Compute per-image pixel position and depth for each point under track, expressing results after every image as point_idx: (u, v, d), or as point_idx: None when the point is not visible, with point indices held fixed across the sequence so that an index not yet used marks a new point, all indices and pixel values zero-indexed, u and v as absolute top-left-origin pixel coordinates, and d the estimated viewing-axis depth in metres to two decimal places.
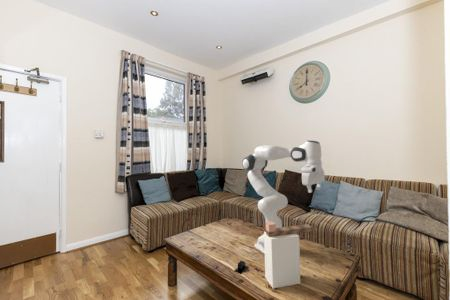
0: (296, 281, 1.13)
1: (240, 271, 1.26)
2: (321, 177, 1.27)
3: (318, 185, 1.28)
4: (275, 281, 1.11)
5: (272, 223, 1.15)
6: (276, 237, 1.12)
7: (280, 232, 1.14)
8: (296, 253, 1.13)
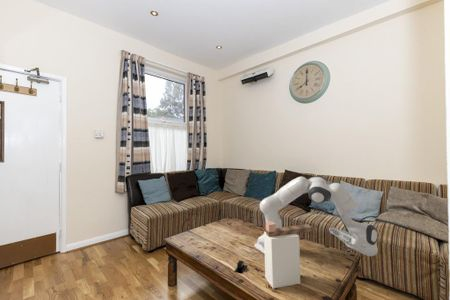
0: (296, 281, 1.13)
1: (240, 271, 1.26)
2: None
3: None
4: (275, 281, 1.11)
5: (272, 223, 1.15)
6: (276, 237, 1.12)
7: (280, 232, 1.14)
8: (296, 253, 1.13)
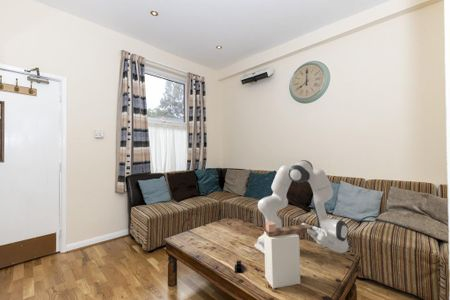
0: (296, 281, 1.13)
1: (241, 271, 1.26)
2: (322, 233, 1.16)
3: None
4: (275, 281, 1.11)
5: (272, 223, 1.15)
6: (276, 237, 1.12)
7: (280, 232, 1.14)
8: (296, 253, 1.13)
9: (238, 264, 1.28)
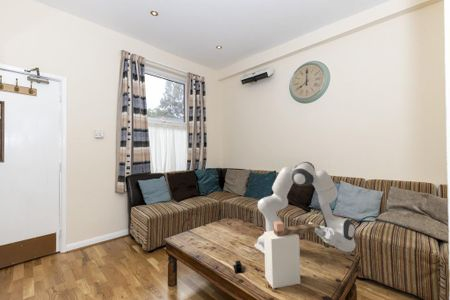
0: (296, 281, 1.13)
1: (241, 270, 1.27)
2: None
3: None
4: (275, 281, 1.11)
5: (280, 222, 1.15)
6: (276, 237, 1.12)
7: (288, 231, 1.15)
8: (296, 253, 1.13)
9: (238, 264, 1.28)
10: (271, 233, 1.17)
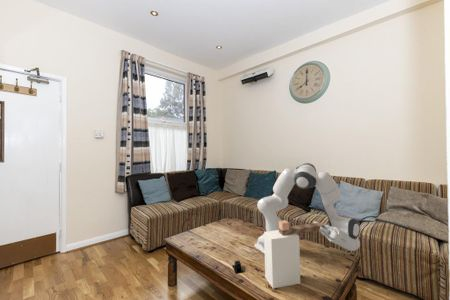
0: (296, 281, 1.13)
1: (241, 270, 1.27)
2: None
3: None
4: (275, 281, 1.11)
5: (285, 222, 1.16)
6: (276, 237, 1.12)
7: (293, 230, 1.15)
8: (296, 253, 1.13)
9: (238, 264, 1.27)
10: (271, 233, 1.17)
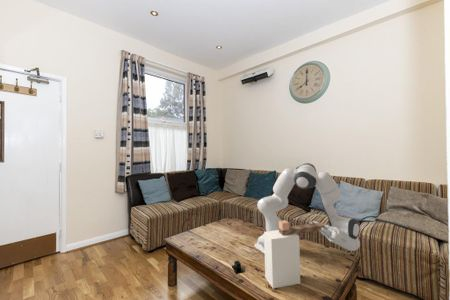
0: (296, 281, 1.13)
1: (241, 270, 1.27)
2: None
3: None
4: (275, 281, 1.11)
5: (285, 222, 1.16)
6: (276, 237, 1.12)
7: (293, 230, 1.16)
8: (296, 253, 1.13)
9: (238, 264, 1.27)
10: (271, 233, 1.17)
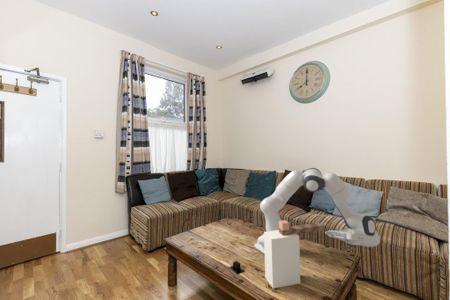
0: (296, 281, 1.13)
1: (241, 270, 1.27)
2: None
3: None
4: (275, 281, 1.11)
5: (285, 222, 1.16)
6: (276, 237, 1.12)
7: (293, 230, 1.16)
8: (296, 253, 1.13)
9: (237, 264, 1.27)
10: (271, 233, 1.17)
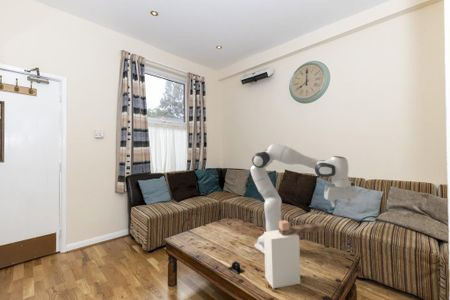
0: (296, 281, 1.13)
1: (240, 270, 1.27)
2: None
3: None
4: (275, 281, 1.11)
5: (285, 222, 1.16)
6: (276, 237, 1.12)
7: (293, 230, 1.16)
8: (296, 253, 1.13)
9: (237, 265, 1.27)
10: (271, 233, 1.17)
